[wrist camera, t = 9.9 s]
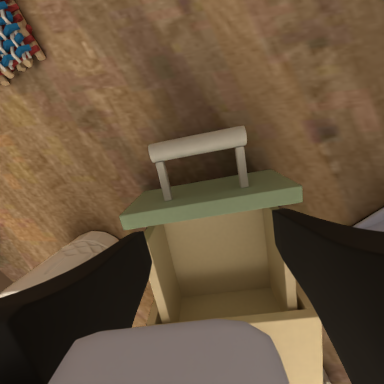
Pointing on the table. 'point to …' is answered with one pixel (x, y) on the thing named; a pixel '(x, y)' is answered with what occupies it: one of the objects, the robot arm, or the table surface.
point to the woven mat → (15, 42)
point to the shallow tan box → (286, 337)
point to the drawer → (214, 235)
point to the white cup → (63, 260)
